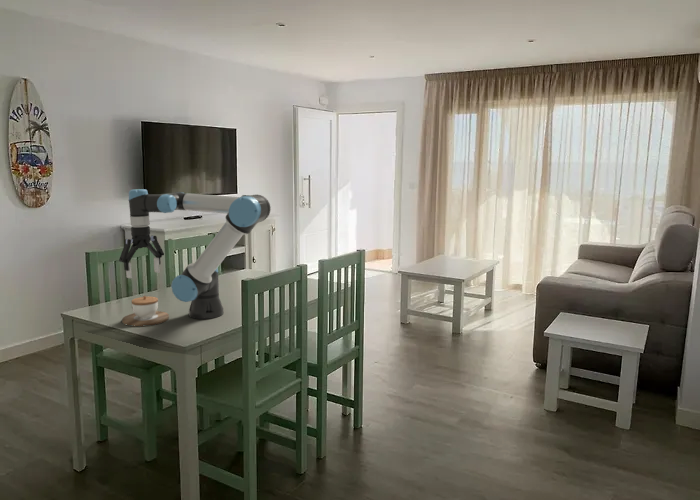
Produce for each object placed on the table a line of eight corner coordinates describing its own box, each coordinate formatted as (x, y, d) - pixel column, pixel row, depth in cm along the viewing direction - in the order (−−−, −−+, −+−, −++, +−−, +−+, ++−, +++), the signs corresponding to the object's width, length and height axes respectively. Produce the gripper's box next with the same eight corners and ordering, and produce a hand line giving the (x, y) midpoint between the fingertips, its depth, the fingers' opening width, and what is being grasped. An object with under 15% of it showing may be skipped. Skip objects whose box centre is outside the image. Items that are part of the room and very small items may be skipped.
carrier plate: (177, 315, 242) (177, 313, 242) (149, 328, 224) (149, 325, 224) (142, 311, 248) (142, 309, 248) (112, 323, 230) (112, 320, 230)
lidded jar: (131, 321, 229) (129, 299, 228) (134, 314, 239) (132, 293, 238) (158, 319, 232) (156, 298, 230) (159, 312, 242) (158, 292, 241)
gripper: (159, 222, 241) (162, 269, 245) (107, 228, 221) (111, 279, 225) (170, 223, 237) (173, 271, 241) (118, 229, 217) (122, 281, 220)
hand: (143, 275), depth 233 cm, fingers open, 13 cm apart
